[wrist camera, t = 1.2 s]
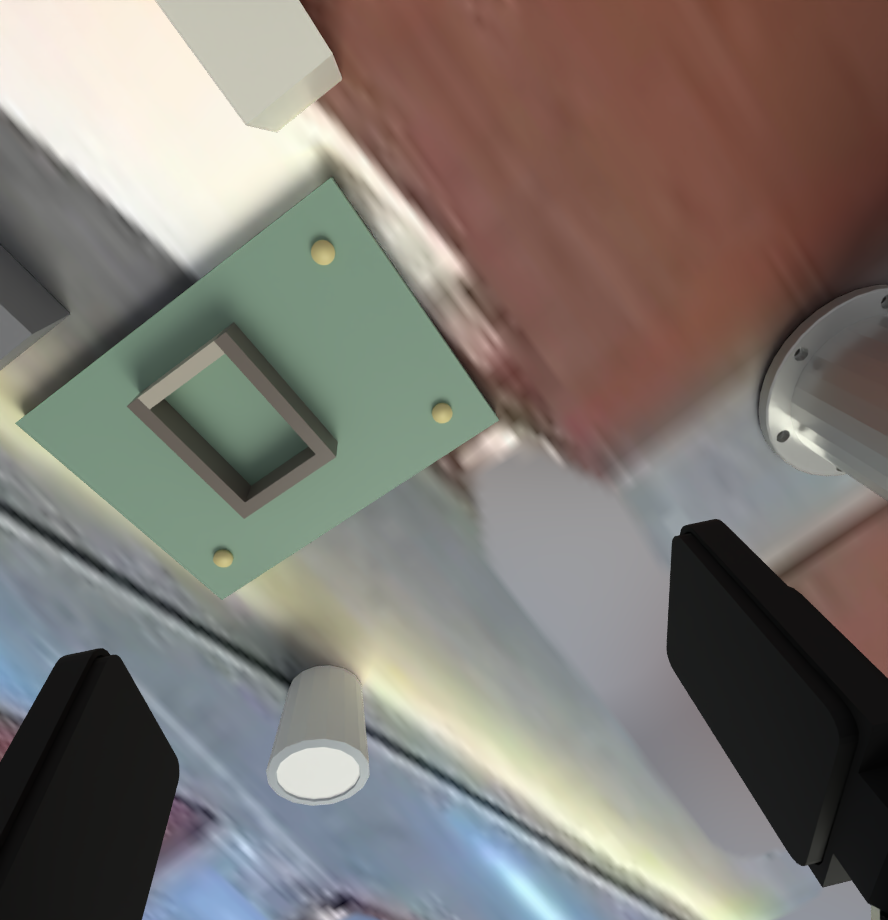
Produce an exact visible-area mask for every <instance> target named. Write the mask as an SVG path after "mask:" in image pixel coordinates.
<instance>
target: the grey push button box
mask: <svg viewBox="0 0 888 920" xmlns="http://www.w3.org/2000/svg"><path fill="white" fill-rule="evenodd" d="M69 315H70V313H69V312H68V311H67V310H66V309H65V308H64V307H63V306H62V305H61V304H60V303H59V302H58V301H57V300H56V299H55V298H54V297H53V296H52V295H51V294H50V293H49V292H48V291H47V290H46V289H45V288H44V287H43V286H42V285H41V284H40V283H39V282H38V281H37V280H36V279H35V278H34V277H33V276H32V275H30V274H29V273H28V272H27V271H26V270H25V269H24V268H23V267H22V266H21V265H20V264H19V263H18V262H17V261H16V260H15V259H14V258H13V257H12V256H11V255H10V254H9V253H8V252H7V251H6V250H5V249H4V248H3V247H2V246H1V245H0V370H2V369H3V368H4V367H5V366H6V365H8V364H9V363H10V362H11V361H13V360H14V359H15V358H16V357H18V356H19V355H20V354H21V353H23V352H24V351H25V350H26V349H28V348H29V347H30V346H31V345H33V344H34V343H35V342H36V341H38V340H39V339H40V338H41V337H42V336H44V335H45V334H46V333H47V332H49V331H50V330H51V329H52V328H54V327H55V326H56V325H57V324H59V323H60V322H61V321H62V320H64V319H65V318H66V317H67V316H69Z"/></svg>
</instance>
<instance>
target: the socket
mask: <svg viewBox="0 0 888 920" xmlns="http://www.w3.org/2000/svg"><path fill="white" fill-rule="evenodd" d="M224 354H226V355H227V356H228V357H229V359H230V360H231V361H232V362H233V363H234V364H235V365H236V366H237V367H238V369H239V370H240V371H241V372H242V373H243V374H244V375H245V376H246V377H247V379H248V380H249V381H250V382H251V383H252V384H253V385H254V386H255V387H256V389H257V390H258V391H259V392H260V393H261V394H262V395H263V396H264V397H265V398H266V400H267V401H268V402H269V403H270V404H271V405H272V406H273V407H274V408H275V410H276V411H277V412H278V413H279V414H280V415H281V416H282V417H283V418H284V420H285V421H286V422H287V423H288V424H289V425H290V426H291V427H292V428H293V430H294V431H295V432H296V433H297V434H298V435H299V436H300V437H301V438H302V440H303V441H304V442H305V443H306V444H307V445H308V447H307V448H305V449H304V450H303V451H301V452H300V453H298V454H297V455H295V456H294V457H292V458H291V459H289V460H288V461H287V462H285V463H284V464H282V465H281V466H279V467H278V468H276V469H275V470H273V471H272V472H270V473H269V474H268V475H266V476H265V477H263V478H262V479H260V480H259V481H257V482H256V483H254V484H253V485H250V484H249V483H248V482H247V481H246V480H245V479H244V478H243V477H242V476H241V475H240V474H239V473H238V472H237V471H236V470H235V469H234V468H233V467H232V466H231V465H230V464H229V463H228V462H227V461H226V460H225V459H224V458H223V457H222V456H221V455H220V454H219V453H218V452H217V451H216V450H215V449H214V448H213V447H212V446H211V445H210V444H209V443H208V442H207V441H206V440H205V439H204V438H203V437H202V436H201V435H200V434H199V433H198V432H197V431H196V430H195V429H194V428H193V427H192V426H191V425H190V424H189V423H188V422H187V421H186V420H185V419H184V418H183V417H182V416H181V415H180V414H179V413H178V412H177V411H176V410H175V409H174V408H173V407H172V406H171V405H170V404H169V403H168V402H167V401H166V400H165V399H164V398H166V397H167V396H168V395H170V394H171V393H172V392H174V391H175V390H177V389H178V388H179V387H181V386H182V385H183V384H185V383H186V382H187V381H189V380H190V379H191V378H193V377H194V376H195V375H197V374H198V373H199V372H201V371H202V370H203V369H205V368H206V367H207V366H209V365H210V364H212V363H213V362H214V361H216V360H217V359H218V358H220V357H221V356H222V355H224ZM127 407H128V408H129V409H130V410H131V411H132V412H133V413H134V414H135V415H136V416H137V417H138V418H139V419H140V420H141V421H142V422H143V423H144V424H145V425H146V426H147V427H148V428H150V429H151V430H152V431H153V432H154V433H155V434H156V435H157V436H158V437H159V438H160V439H161V440H162V441H163V442H164V443H165V444H166V445H167V446H168V447H169V448H170V449H171V450H172V451H174V452H175V453H176V454H177V455H178V456H179V457H180V458H181V459H182V460H183V461H184V462H185V463H186V464H187V465H188V466H189V467H190V468H191V469H192V470H193V471H194V472H195V473H196V474H198V475H199V476H200V477H201V478H202V479H203V480H204V481H205V482H206V483H207V484H208V485H209V486H210V487H211V488H212V489H213V490H214V491H215V492H216V493H217V494H218V495H219V496H220V497H222V498H223V499H224V500H225V501H226V502H227V503H228V504H229V505H230V506H231V507H232V508H233V509H234V510H235V511H236V512H237V513H238V514H239V515H240V516H241V517H242V518H243V519H245V518H246V517H248V516H249V515H251V514H252V513H254V512H255V511H257V510H258V509H260V508H261V507H263V506H264V505H266V504H267V503H269V502H270V501H272V500H273V499H275V498H276V497H278V496H279V495H281V494H282V493H284V492H285V491H287V490H288V489H289V488H291V487H292V486H294V485H295V484H297V483H298V482H300V481H301V480H303V479H304V478H306V477H307V476H309V475H310V474H312V473H313V472H315V471H316V470H318V469H319V468H321V467H322V466H324V465H325V464H327V463H328V462H330V461H331V460H333V459H334V458H335V457H336V455H337V446H338V441H337V440H336V439H335V438H334V437H333V436H332V434H331V433H330V432H329V431H328V430H327V429H326V428H325V426H324V425H323V424H322V423H321V422H320V421H319V419H318V418H317V417H316V416H315V415H314V414H313V413H312V411H311V410H310V409H309V408H308V407H307V406H306V405H305V403H304V402H303V401H302V400H301V399H300V398H299V396H298V395H297V394H296V393H295V392H294V391H293V390H292V388H291V387H290V386H289V385H288V384H287V383H286V381H285V380H284V379H283V378H282V377H281V376H280V375H279V373H278V372H277V371H276V370H275V369H274V368H273V366H272V365H271V364H270V363H269V362H268V361H267V360H266V358H265V357H264V356H263V355H262V354H261V353H260V352H259V350H258V349H257V348H256V347H255V346H254V345H253V343H252V342H251V341H250V340H249V339H248V338H247V337H246V335H245V334H244V333H243V332H242V331H241V330H240V328H239V327H238V326H237V325H236V324H235V323H234V322H233V323H232V324H231V325H229V326H228V327H227V328H225V329H224V330H223V331H221V332H220V333H219V334H217V335H216V336H215V337H213V338H212V339H211V340H209V341H208V342H207V343H205V344H204V345H203V346H201V347H200V348H199V349H197V350H196V351H195V352H193V353H192V354H191V355H189V356H188V357H187V358H185V359H184V360H183V361H181V362H180V363H179V364H177V365H176V366H175V367H173V368H172V369H171V370H169V371H168V372H167V373H165V374H164V375H163V376H161V377H160V378H159V379H158V380H156V381H155V382H154V383H152V384H151V385H150V386H148V387H147V388H146V389H144V390H143V391H142V392H140V393H139V394H138V395H137V396H136V397H135V398H134V399H133V400H132V401H131V402H130V403H129V404H128V405H127Z"/></svg>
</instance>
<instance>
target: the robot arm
mask: <svg viewBox="0 0 888 920" xmlns="http://www.w3.org/2000/svg"><path fill="white" fill-rule="evenodd" d="M759 420H760V427H761V430H762V433H763V436H764V438H765V441H766V442H767V444H768V445H769V447H770V448H771V449H772V451H773V452H774V453H775V454H776V455H777V456H779V457H780V458H781V459H782V460H783V461H785V462H786V463H788V464H789V465H791V466H792V467H794V468H795V469H797V470H800V471H803V472H806V473H809V474H812V475H821V476H838V475H845V474H848V475H849V476H851V477H852V478H854V479H855V480H857V481H858V482H860V483H861V484H863V485H864V486H866V487H867V488H868V489H870V490H871V491H873V492H874V493H876V494H877V495H879V496H880V497H882V498H883V499H885V500H886V501H888V285H874V286H870V287H866V288H861V289H857V290H854V291H852V292H850V293H847V294H845V295H843V296H840V297H838V298H836V299H834V300H833V301H831V302H829V303H828V304H826V305H825V306H823V307H821V308H820V309H818V310H817V311H816V312H814V313H813V314H812V315H811V316H810V317H808V318H807V319H806V320H805V321H804V322H803V323H801V324H800V325H799V326H798V328H797V329H796V330H795V331H794V332H793V333H792V334H791V335H790V336H789V337H788V339H787V340H786V341H785V342H784V344H783V345H782V347H781V348H780V350H779V351H778V353H777V354H776V356H775V357H774V359H773V361H772V363H771V365H770V367H769V370H768V372H767V374H766V376H765V379H764V383H763V386H762V389H761V393H760V401H759ZM667 655H668V658H669V662H670V664H671V666H672V668H673V670H674V672H675V673H676V675H677V677H678V678H679V680H680V681H681V683H682V685H683V686H684V688H685V689H686V691H687V692H688V694H689V696H690V697H691V699H692V700H693V702H694V703H695V705H696V707H697V708H698V710H699V711H700V713H701V715H702V716H703V718H704V719H705V721H706V723H707V724H708V726H709V727H710V729H711V731H712V732H713V734H714V735H715V737H716V739H717V740H718V742H719V743H720V745H721V746H722V748H723V749H724V751H725V753H726V754H727V756H728V758H729V759H730V760H731V762H732V764H733V765H734V767H735V769H736V770H737V772H738V773H739V775H740V776H741V778H742V780H743V781H744V783H745V784H746V786H747V788H748V789H749V791H750V792H751V794H752V796H753V797H754V799H755V800H756V802H757V804H758V805H759V807H760V808H761V810H762V812H763V813H764V815H765V816H766V818H767V819H768V821H769V823H770V824H771V826H772V827H773V829H774V831H775V832H776V834H777V835H778V837H779V838H780V840H781V842H782V843H783V845H784V846H785V848H786V850H787V851H788V853H789V854H790V856H791V857H792V858H793V859H794V860H795V861H796V863H798V864H799V865H801V866H806V865H808V866H809V867H810V869H811V870H812V872H813V873H814V875H815V877H816V878H817V880H818V881H819V883H820V884H821V886H822V887H827V886H830V885H834V884H839V883H843V882H846V881H850V880H852V881H853V883H854V884H855V885H856V887H857V888H858V890H859V891H860V893H861V894H862V896H863V897H864V898H865V900H866V901H867V902H868V903H869V904H870V905H871V920H888V678H887V677H886V676H885V675H884V674H883V673H882V672H881V671H880V670H878V669H877V668H876V667H875V666H874V665H873V664H872V663H871V662H870V661H869V660H868V659H867V658H866V657H865V656H864V655H863V654H862V653H861V652H860V651H859V650H858V649H857V648H856V647H855V646H854V645H853V644H852V643H851V642H850V641H849V640H848V639H847V638H846V637H845V636H844V635H843V634H842V633H841V632H840V631H839V630H837V629H836V628H835V627H834V626H833V625H832V624H831V623H830V622H829V621H828V620H827V619H826V618H825V617H824V616H823V615H822V614H821V613H820V612H819V611H818V610H817V609H816V608H815V607H814V606H813V605H812V604H811V603H810V602H809V601H808V600H807V599H806V598H805V597H804V596H803V595H802V594H800V593H799V592H798V591H796V590H795V589H794V588H792V587H789V586H787V585H786V584H785V583H784V582H783V581H782V580H781V579H780V578H779V577H778V576H777V575H776V574H775V573H774V572H773V571H772V570H771V569H770V568H769V567H768V566H767V565H766V564H765V563H764V562H763V561H762V560H761V559H760V558H759V557H758V556H757V555H756V554H755V553H754V552H753V551H752V550H751V549H750V548H749V547H748V546H747V545H746V544H745V543H744V542H743V541H742V540H741V539H740V538H739V537H738V536H737V535H736V534H735V533H734V532H733V531H732V530H731V529H730V528H729V527H727V526H726V525H725V524H724V523H723V522H722V521H720V520H718V519H713V520H709V521H704V522H699V523H694V524H689V525H685V526H683V527H682V529H681V532H680V535H679V536H675V537H674V538H673V540H672V552H671V571H670V592H669V610H668V629H667ZM178 780H179V763H178V759H177V757H176V755H175V753H174V751H173V749H172V748H171V746H170V744H169V742H168V741H167V739H166V737H165V735H164V733H163V732H162V730H161V728H160V726H159V725H158V723H157V721H156V719H155V718H154V716H153V714H152V712H151V711H150V709H149V707H148V705H147V703H146V702H145V700H144V698H143V696H142V695H141V693H140V691H139V689H138V688H137V686H136V684H135V682H134V681H133V679H132V677H131V675H130V673H129V672H128V670H127V668H126V666H125V665H124V663H123V661H122V660H121V658H120V657H119V656H117V655H110V654H109V653H108V651H107V650H105V649H103V648H100V649H94V650H89V651H84V652H80V653H75V654H70V655H65V656H63V657H62V658H60V659H59V660H58V661H57V663H56V664H55V666H54V668H53V669H52V671H51V673H50V675H49V677H48V678H47V680H46V682H45V684H44V685H43V687H42V689H41V691H40V693H39V694H38V696H37V698H36V700H35V701H34V703H33V705H32V707H31V709H30V710H29V712H28V714H27V716H26V717H25V719H24V721H23V723H22V725H21V726H20V728H19V730H18V732H17V733H16V735H15V737H14V739H13V741H12V742H11V744H10V746H9V748H8V749H7V751H6V753H5V755H4V757H3V758H2V760H1V762H0V920H142V917H143V913H144V909H145V906H146V902H147V898H148V894H149V890H150V887H151V883H152V879H153V875H154V872H155V868H156V864H157V860H158V856H159V853H160V849H161V845H162V841H163V837H164V834H165V830H166V826H167V822H168V819H169V815H170V811H171V807H172V803H173V800H174V796H175V792H176V788H177V785H178Z"/></svg>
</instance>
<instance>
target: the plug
mask: <svg viewBox="0 0 888 920" xmlns="http://www.w3.org/2000/svg"><path fill="white" fill-rule="evenodd" d="M155 1H156V3H157V4H158V5H159V7H160V8H161V9H162V11H163V12H164V14H165V15H166V16H167V18H168V19H169V20H170V22H171V23H172V25H173V26H174V27H175V29H176V30H177V31H178V33H179V34H180V36H181V37H182V38H183V40H184V41H185V42H186V44H187V45H188V47H189V48H190V49H191V51H192V52H193V53H194V55H195V56H196V57H197V59H198V60H199V62H200V63H201V64H202V66H203V67H204V68H205V70H206V71H207V73H208V74H209V75H210V77H211V78H212V79H213V81H214V82H215V84H216V85H217V86H218V88H219V89H220V90H221V92H222V93H223V95H224V96H225V97H226V99H227V100H228V101H229V103H230V104H231V106H232V107H233V108H234V110H235V111H236V112H237V114H238V115H239V117H240V118H241V119H242V121H243V122H244V123H245V125H247V126H251V127H255V128H259V129H264V130H268V131H272V132H276V133H277V132H278V131H279V130H281V129H282V128H283V127H284V126H286V125H287V124H288V123H289V122H290V121H292V120H293V119H294V118H295V117H297V116H298V115H299V114H300V113H302V112H303V111H304V110H305V109H306V108H308V107H309V106H310V105H311V104H313V103H314V102H315V101H316V100H318V99H319V98H320V97H321V96H322V95H324V94H325V93H326V92H327V91H329V90H330V89H331V88H332V87H334V86H335V85H336V84H337V83H339V82H340V81H341V80H342V77H341V74H340V71H339V69H338V66H337V64H336V61H335V58H334V56H333V53H332V52H331V50H330V49H329V47H328V46H327V44H326V42H325V41H324V39H323V38H322V36H321V34H320V33H319V31H318V30H317V28H316V26H315V25H314V23H313V22H312V20H311V18H310V17H309V15H308V14H307V12H306V11H305V9H304V7H303V6H302V4H301V3H300V1H299V0H155Z"/></svg>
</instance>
